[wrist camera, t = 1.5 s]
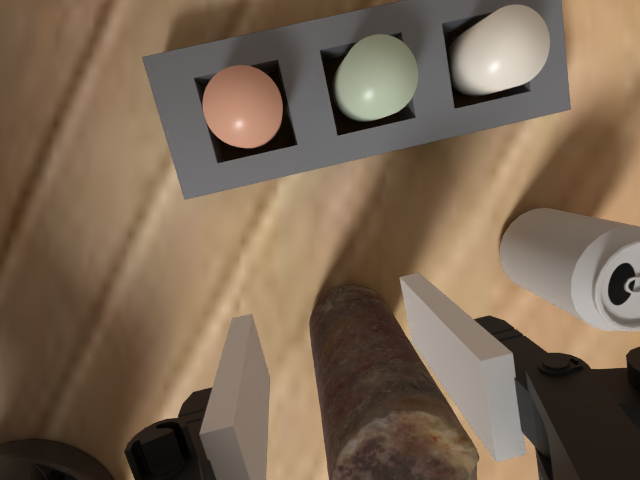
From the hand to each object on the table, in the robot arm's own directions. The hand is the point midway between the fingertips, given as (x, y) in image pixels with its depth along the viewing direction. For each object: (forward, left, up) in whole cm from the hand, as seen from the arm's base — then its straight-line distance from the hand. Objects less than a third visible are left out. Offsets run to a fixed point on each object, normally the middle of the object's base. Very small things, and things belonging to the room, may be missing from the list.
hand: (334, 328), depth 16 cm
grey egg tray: (+7, +10, -21) cm, 24 cm away
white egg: (+16, +10, -19) cm, 26 cm away
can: (+20, -7, -21) cm, 30 cm away
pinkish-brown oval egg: (-2, +10, -19) cm, 21 cm away
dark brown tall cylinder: (+2, -9, -21) cm, 23 cm away
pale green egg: (+7, +10, -19) cm, 22 cm away
